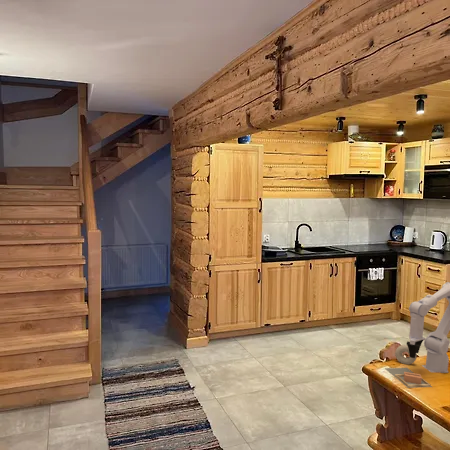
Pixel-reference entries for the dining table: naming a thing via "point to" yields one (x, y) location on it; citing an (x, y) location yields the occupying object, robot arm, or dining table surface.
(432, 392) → the dining table surface
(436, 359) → the robot arm
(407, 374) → the reddish brown block
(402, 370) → the mat
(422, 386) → the frame
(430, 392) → the dining table surface
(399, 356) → the donut
